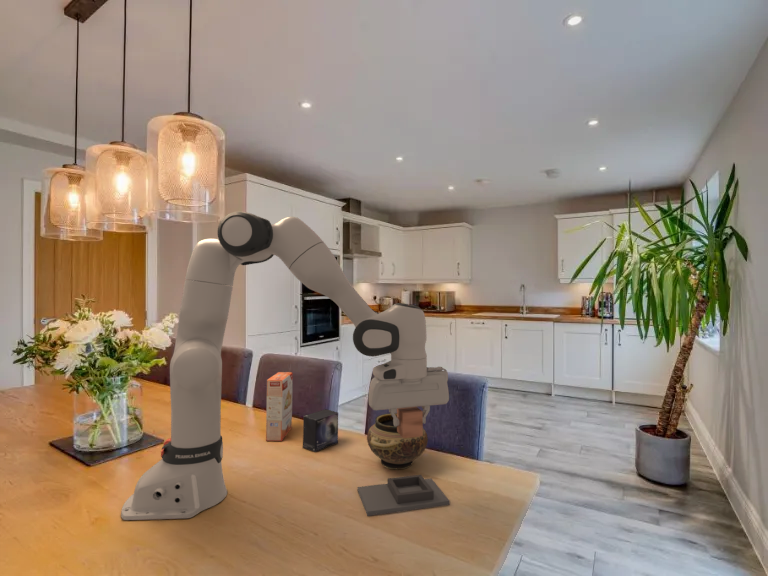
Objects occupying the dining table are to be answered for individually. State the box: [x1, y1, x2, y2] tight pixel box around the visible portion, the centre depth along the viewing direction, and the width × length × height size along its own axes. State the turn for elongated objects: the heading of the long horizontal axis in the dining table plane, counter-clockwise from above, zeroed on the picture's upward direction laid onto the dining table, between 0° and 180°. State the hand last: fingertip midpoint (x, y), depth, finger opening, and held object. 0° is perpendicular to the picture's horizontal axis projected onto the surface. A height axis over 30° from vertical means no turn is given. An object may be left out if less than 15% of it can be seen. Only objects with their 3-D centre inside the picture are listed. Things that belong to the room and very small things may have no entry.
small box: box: [302, 408, 339, 453], centre depth 135 cm, size 11×6×10 cm, turn 143°
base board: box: [357, 474, 451, 517], centre depth 101 cm, size 20×12×3 cm, turn 104°
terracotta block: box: [396, 407, 424, 438], centre depth 102 cm, size 5×5×6 cm
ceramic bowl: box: [366, 412, 429, 470], centre depth 121 cm, size 24×18×15 cm
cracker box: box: [265, 371, 294, 442], centre depth 145 cm, size 14×6×21 cm, turn 179°
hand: (409, 424), depth 102 cm, fingers closed on terracotta block, 5 cm apart
